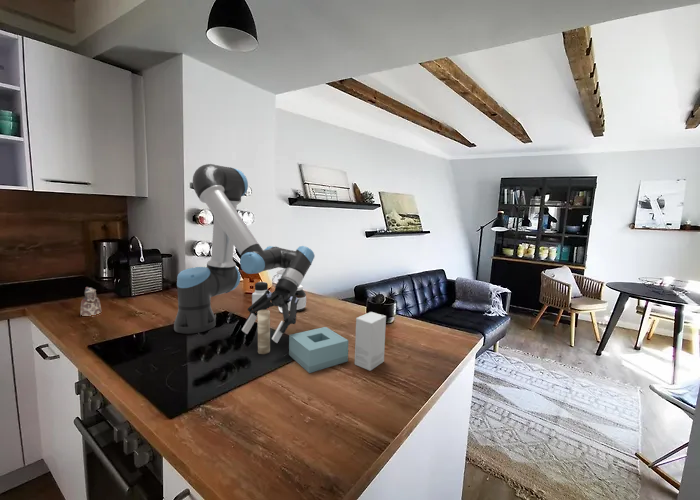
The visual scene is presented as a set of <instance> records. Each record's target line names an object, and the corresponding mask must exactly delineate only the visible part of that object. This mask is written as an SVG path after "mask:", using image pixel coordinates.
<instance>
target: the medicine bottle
mask: <svg viewBox="0 0 700 500" xmlns="http://www.w3.org/2000/svg"><path fill="white" fill-rule="evenodd" d="M268 286H269V285H268V282H266V281H256V282H255V284H254V292H253V293H252V294H251V305H252V304H254V303H255V302H256V301H257V300H258V299H259V298H260V297H262V296H263V295H264V293H265V292H266V291H267V290H269V288H268Z"/></svg>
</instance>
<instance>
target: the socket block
mask: <svg viewBox="0 0 700 500" xmlns="http://www.w3.org/2000/svg"><path fill="white" fill-rule="evenodd" d="M288 336H289V337H288V349H289V351H288V355H289V356H290V358H291V359H293V360H294V361H295V362H296V363H297V364H298V365H300V366H301V368H303V369H304V370H305V371H306V372H308V374H311V373H315V372H319V371H321V370H324V369H327V368H330V367H331V368H332V367H333V366H337V365H340V364H344V363H346V362H349V339H347V338H345V337H343V336H341V335H340V334H338V333H337V332H335V331H333V330H332V329H330V328H329V327H327V326H323V327H319V328H318V327H317V328H314V329H311V330H310V329H309V330H306V331H301V332H296V333H290V334H288Z"/></svg>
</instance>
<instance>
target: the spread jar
mask: <svg viewBox="0 0 700 500" xmlns="http://www.w3.org/2000/svg"><path fill="white" fill-rule="evenodd" d="M295 296H296V297H297V298H298V299H299V301H298V303H297V312H296V313H298V312H299V313H300V312H302V311H303V310H305V308H306V306H307V292H305V290H303V285H302V284H300V286H299V287H298V289H297V291H296V293H295ZM290 304H291V301H290V302H289V303H288V311H289V312H290ZM277 308H278V311H279V312H280V313H282V314H283V312H282V307H279V306H277Z"/></svg>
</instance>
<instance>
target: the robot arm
mask: <svg viewBox="0 0 700 500" xmlns="http://www.w3.org/2000/svg"><path fill="white" fill-rule="evenodd" d="M192 187H193V190H194V192H195V194H196V197H197V198H198V199H199V201H200V202H201V203H203V204H206V205H207V207H208V209H209V210H210V212H211V213H212V216H213V226H212V240H211V241H212V244H211V254H210V255H211V256H210V259H209V260H208V261H207V262H206V266H195V267H190V268H187V269H183V270H181V271H180V272H179V273H178V274H177V277H176V279H177V280H176V281H177V282H176V286H177V305H178V306H177V307H178V309H177V314H176V316H175V319H174V322H173V330H174V332H175V333H179V334H184V335H185V334H187V335H188V334H190V335H191V334H199V333H203V332H207V331H209V330H212V329H213V328H215V326H216V325H217V324H216V323H217V319H216V316H215V314H214V312H213V309H212V305H211V300H212V299H211V298H212V297H216V296H220V295H222V294H228V293H229V292H232V291H234V290H235V289H236V288H238V286H239V285H240V282H241V272H240V271H239V268H238V267H237V263H236V262H235V261H234V260H233V259H234V248H235V250H237V252H238V254H239V255H240V259H239V264H240V269H241V270H242V271H243V272H244V273H245V274H247V275H248V274H250V275H252V274H261V273H262V272H266V271H269V270H273V269H278V268H280V269H285V271H284V272H283V274H281V275H280V278H278V279H279V281H278V280H277V282H276V283H275V285H276V286H275V285H274V286H275V287H274V291H273V292H271V290H269V289H268V290H267V291H266V292H265V293H264V295H263V296H262V297H260V298H259V299H258V300H257V301H256V302H255V303H254V304H252V303H251V305H250V306H249V307H248V308H247V311H248V312H249V315H248V316H247V318H246V320H245V323H244V325H243V327H242V328H241V331H242V332H243V333H244V334H246V335H248V334H249V332H250V331H251V329H252V327H253V326H254V324H255V322H256V321H257V320H258V313H257V312H258V311H259V310H269V308H272V307H278V306H279V307H282V312H283V313H282V318H283V320H281V321H280V322H279V324H278V326H277V327H276V330H275V331H274V333H273V335H272V337H271V340H272V341H273V342H274V343H276V344H278V342H279V341H280V339H281V337H282V336H283V334H285V333H286V331H287V329H288V327H289V326H290V325H296V322H297V313H298V312H297V303H298V301H299V299H298V298H297V297H296V296H295V293H296V291H297V289H298V287H299V286H300V285H302V281H303V280H304V277H305V275H306V274H307V272H308V271H309V269H310V267H311V266H312V263H313V261H314V259H315V252H314V251H313V250H312V249H311V248H309V247H307V246H305V245H301V246H298V247H297V248H296V249H295V250H291V249H287V248H282V247H279V246H272V245H268V246H267V247H266V248H265V249H263V248H262V246H261V245H260V244H259V242H258V240H257V239H256V238H255V236H254V235H253V233H252V232H251V231H250V229H249V227H248V226H247V224H246V222H245V221H244V220H243V218H242V217H241V216H240V214H239V212H238V210H237V207H238V204H240V203H241V202H242V197H244V196H245V194H246V193H247V192H248V188H249V182H248V179H247V177H246V175H245V174H244V172H242V171H241V170H240V169H237V168H234V167H229V166H222V165H217V164H212V163H206V164H203V165H201V166H199V167H198V168H197V169H196V170H195V172H194V173H193V176H192ZM290 301H291V304H290V311H288V303H289V302H290Z"/></svg>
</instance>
